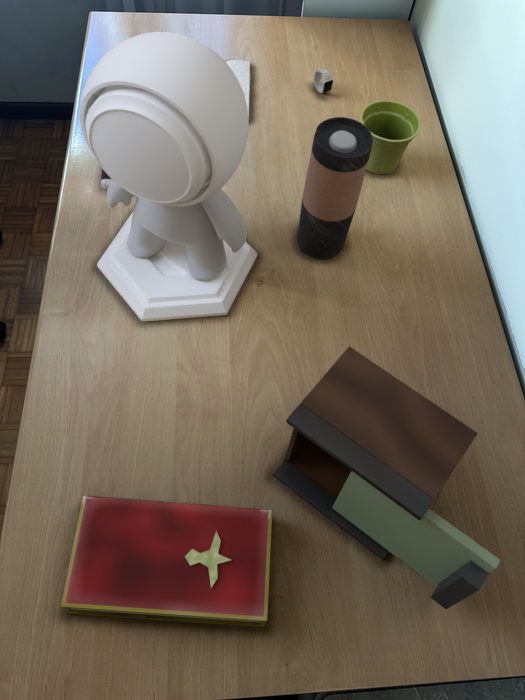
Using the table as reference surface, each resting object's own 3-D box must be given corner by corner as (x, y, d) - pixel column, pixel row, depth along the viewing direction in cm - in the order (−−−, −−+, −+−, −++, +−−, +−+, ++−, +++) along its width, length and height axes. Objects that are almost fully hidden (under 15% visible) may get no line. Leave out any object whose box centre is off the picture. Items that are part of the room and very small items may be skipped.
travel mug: (355, 248, 100) (386, 144, 83) (315, 269, 97) (338, 166, 80) (325, 215, 103) (349, 108, 86) (285, 234, 100) (301, 128, 83)
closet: (382, 560, 76) (421, 518, 62) (272, 475, 80) (286, 419, 67) (431, 486, 81) (478, 433, 67) (325, 410, 85) (349, 345, 72)
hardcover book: (88, 503, 77) (83, 491, 73) (269, 517, 78) (272, 506, 74) (67, 613, 70) (60, 606, 67) (264, 627, 71) (267, 620, 68)
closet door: (440, 612, 72) (486, 586, 61) (322, 521, 77) (343, 480, 65) (454, 590, 74) (501, 560, 62) (336, 501, 78) (360, 457, 66)
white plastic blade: (218, 119, 112) (218, 114, 111) (222, 63, 120) (222, 58, 119) (248, 121, 112) (249, 115, 112) (250, 65, 120) (250, 60, 119)
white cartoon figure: (76, 296, 91) (16, 76, 62) (152, 187, 103) (131, -43, 73) (209, 347, 89) (213, 144, 59) (271, 229, 101) (300, 9, 71)
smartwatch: (310, 85, 119) (313, 66, 115) (320, 82, 120) (323, 62, 116) (321, 97, 117) (325, 78, 114) (331, 94, 118) (335, 74, 115)
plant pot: (390, 191, 107) (404, 149, 99) (340, 165, 109) (350, 123, 101) (415, 158, 111) (431, 116, 104) (366, 134, 113) (378, 91, 106)
